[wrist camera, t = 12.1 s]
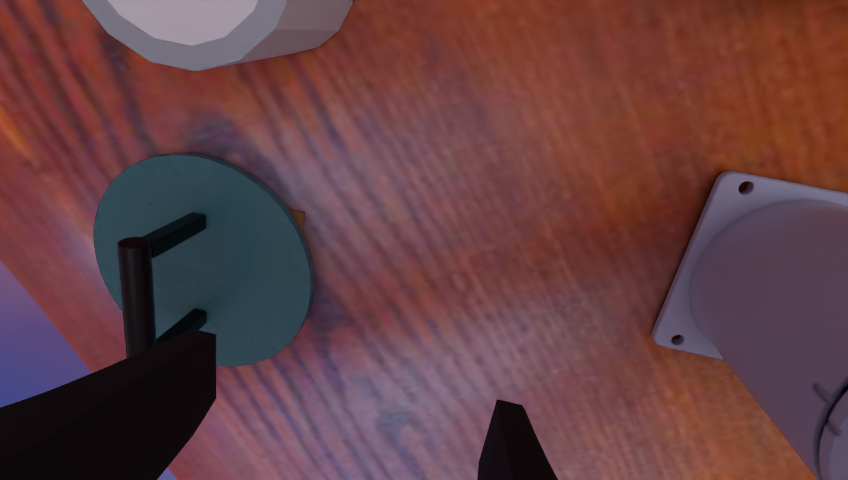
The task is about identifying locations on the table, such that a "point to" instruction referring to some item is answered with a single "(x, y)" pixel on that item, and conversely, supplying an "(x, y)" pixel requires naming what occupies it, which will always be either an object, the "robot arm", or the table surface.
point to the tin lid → (203, 257)
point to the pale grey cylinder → (219, 28)
